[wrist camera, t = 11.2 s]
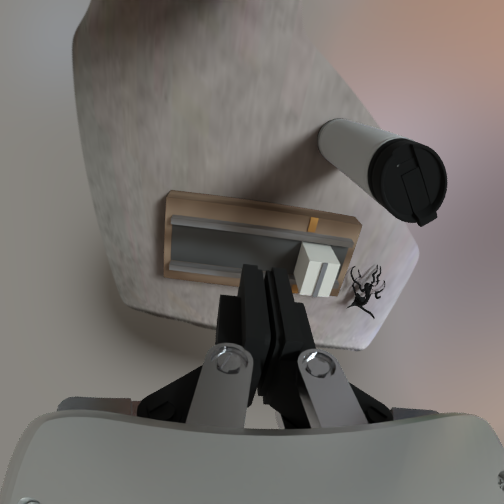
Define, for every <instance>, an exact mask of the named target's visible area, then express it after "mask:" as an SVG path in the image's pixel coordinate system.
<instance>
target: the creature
mask: <svg viewBox="0 0 504 504" xmlns="http://www.w3.org/2000/svg"><path fill="white" fill-rule="evenodd" d="M354 267H356V266H354ZM354 267H353V268H354ZM353 268H352V269H353ZM377 269H378V265H377ZM358 272H359V269H358ZM376 273H377V270H376V272H374V273H373V274H372V277H373V282H371V283H372V284H373V283H374V281H375V276H374V275H375V274H376ZM380 274H381V266H380V273H379V274H378V275H377V277H376V278H377V281H376V282H377V284H378V282H379V281H380V280H378V277H379V276H380ZM359 275H360V273H359ZM351 277H352V280H353V281H354V283H357V284H358V285H359V288H360V290H361V292H364V291H365V294H366V295H365V297H366V299H365V297H361V296H360V295H359V293H357V294H356V292H355V287H354V283H353V285H352V287H353V289H354V292H355V296H356V297H355V300H354V302H353V303H352V305H350V306H349V307H351V306H358V307H360V308H361V309H362V310H364V311H365V312H367V313H369V314H370V315H371V316H372V317H373V318H374V316H373V314H372V313H371V312H370V311H367V310H366V309H364V308H363V307H362V306H363V305H365V304H367V302H368V300H369V298H370V296H371V294H375V298H376V299H379V298H380V297H381V296H379V297H377V294H378V293H380V292H381V291H382V290H383V289H384V288H383V289H382V290H380V291H375V293H371V294H370V291H371V289H372V286H373V285H372V284H369V283H365V285H364V289H361V285H360V284H359V283H358V282H357V281H355V280H354V278H353V276H352V270H351ZM360 277H361V275H360ZM358 278H359V277H358ZM377 284H376V285H377ZM384 284H385V281H384ZM376 285H375V286H376ZM384 287H385V285H384ZM372 290H373V289H372ZM349 307H347V308H349Z"/></svg>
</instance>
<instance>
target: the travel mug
mask: <svg viewBox="0 0 504 504" xmlns="http://www.w3.org/2000/svg"><path fill="white" fill-rule="evenodd" d="M318 148H319V150H320V153H321V154H322V156H323V157H324V158H325V159H326V160H328V161H329V162H330V163H331V164H333V165H334V166H335V167H336V168H338V169H339V170H340V171H341V172H343V173H344V174H345V175H346V176H347V177H349V178H350V179H351V180H352V181H353V182H355V183H356V184H357V185H358V186H359V187H361V188H362V189H363V190H364V191H365V192H366V193H367V194H369V195H370V196H371V197H372V198H373V199H374V200H375V201H377V202H378V203H379V204H380V205H382V206H383V207H384V208H385V209H387V210H388V211H389V212H390V213H391V214H392V215H393V216H395V217H396V218H397V219H399V220H401V221H404V222H408V223H416V222H417V224H418V225H419V226H420V227H422V226H424V225H426V224H428V223H429V222H431V221H433V220H434V219H436V218H437V213H436V211H437V210H438V209H439V207H440V206H441V204H442V202H443V200H444V198H445V194H446V191H447V174H446V170H445V166H444V164H443V162H442V160H441V159H440V157H439V156H438V154H437V153H436V152H435V151H434V150H432V149H431V148H429V147H428V146H425V145H423V144H420V143H418V142H415V141H413V140H411V139H408V138H406V137H403V136H400V135H397V134H394V133H391V132H388V131H385V130H381V129H378V128H375V127H372V126H368V125H365V124H361V123H358V122H354V121H351V120H347V119H343V118H337V119H333V120H330V121H329V122H327V123H326V124H325V125H324V126H323V127H322V128H321V130H320V132H319V134H318Z"/></svg>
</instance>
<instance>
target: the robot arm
mask: <svg viewBox="0 0 504 504" xmlns="http://www.w3.org/2000/svg"><path fill="white" fill-rule="evenodd" d="M257 388H258V389H257ZM256 389H257V390H258V396H263V403H264V404H269V405H270V406H271V407H272V408H274V409H275V410H276V412H275V415H276V420H277V424H278V427H279V429H246V428H244V423H245V416H246V410H247V407H249V406H250V405H251V404H252V401H253V398H254V395H255V392H256ZM40 503H41V504H504V448H503V446H502V444H501V442H500V440H499V438H498V437H497V435H496V433H495V431H494V430H493V428H492V427H491V425H490V424H489V423H488V422H487V421H486V420H484V419H483V418H481V417H479V416H476V415H472V414H466V413H438V412H437V411H433V410H420V409H406V408H396V407H392V409H391V410H389V409H388V408H387V407H386V406H385V405H384V404H382V403H381V402H379V401H377V400H376V399H374V398H373V397H371V396H370V395H368V394H366V393H365V392H363V391H362V390H360V389H359V388H357V387H355V386H354V385H352V384H351V383H349V382H348V380H347V378H346V376H345V374H344V372H343V370H342V368H341V366H340V364H339V362H338V361H337V359H336V358H335V357H334V356H333V355H332V354H330V353H328V352H326V351H324V350H320V349H316V347H315V343H314V340H313V336H312V332H311V329H310V325H309V321H308V318H307V314H306V310H305V307H304V304H303V303H297V302H294V298H293V294H292V289H291V285H290V281H289V277H288V273H287V270H286V269H283V268H275V267H272V268H271V271H269V270H266V272H265V277H263V270H260V269H258V266H257V265H250V264H243V267H242V273H241V278H240V284H239V290H238V296H228V295H220V302H219V309H218V318H217V328H216V342H215V346H213V347H212V348H210V349H209V350H208V352H207V354H206V357H205V360H204V363H203V365H202V366H200V367H198V368H197V369H195V370H193V371H191V372H190V373H188V374H186V375H185V376H183V377H181V378H179V379H177V380H176V381H174V382H172V383H170V384H169V385H167V386H165V387H163V388H161V389H160V390H158V391H156V392H154V393H152V394H150V395H149V396H147V397H146V398H144V399H143V400H142V401H131V399H130V398H94V397H93V398H92V397H69V398H67V399H65V400H63V401H62V402H61V403H60V404H59V405H58V409H57V411H56V412H52V413H48V414H44V415H42V416H39V417H37V418H36V419H34V420H33V421H32V422H31V423H30V424H29V425H28V426H27V428H26V429H25V430H24V432H23V434H22V435H21V437H20V439H19V441H18V443H17V445H16V447H15V450H14V452H13V455H12V457H11V460H10V462H9V465H8V468H7V472H6V475H5V478H4V482H3V486H2V489H1V493H0V504H40Z"/></svg>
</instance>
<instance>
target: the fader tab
mask: <svg viewBox="0 0 504 504" xmlns="http://www.w3.org/2000/svg"><path fill="white" fill-rule="evenodd" d="M339 267H340V263H339V261H338V259H337V257H336V255H335V253H334V252H333V250H332V248H331V246H330V245H324V244H317V243H310V242H303V241H302V244H301V248H300V251H299V255H298V259H297V263H296V266H295V270H294V276H295V280H296V283H297V287H298V291H299V294H300V295H310V296H312V297H317V296H321V297H329V295H330V292H331V290H332V287H333V284H334V281H335V279H336V276H337V273H338V270H339Z"/></svg>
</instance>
